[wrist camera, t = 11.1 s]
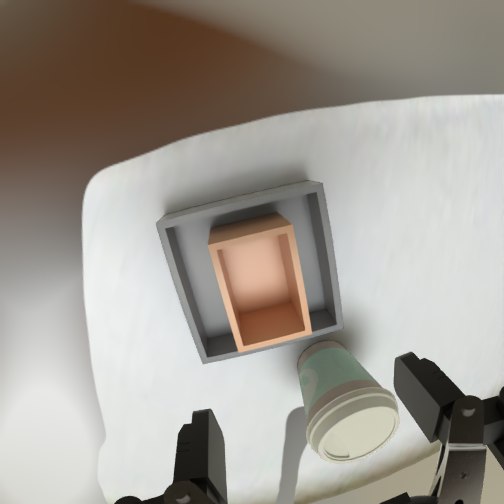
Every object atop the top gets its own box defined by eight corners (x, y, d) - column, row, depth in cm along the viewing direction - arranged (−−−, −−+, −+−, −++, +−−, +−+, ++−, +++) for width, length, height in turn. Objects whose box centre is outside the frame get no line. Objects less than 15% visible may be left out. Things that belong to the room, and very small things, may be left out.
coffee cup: (289, 331, 31) (321, 410, 20) (363, 326, 32) (418, 393, 21) (281, 393, 34) (303, 473, 22) (349, 386, 34) (388, 456, 23)
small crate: (277, 211, 27) (292, 224, 22) (295, 303, 30) (312, 334, 24) (210, 228, 27) (207, 245, 21) (235, 318, 30) (238, 352, 24)
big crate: (308, 180, 27) (322, 182, 24) (330, 309, 31) (343, 328, 27) (164, 215, 27) (155, 223, 23) (204, 341, 31) (202, 364, 27)
